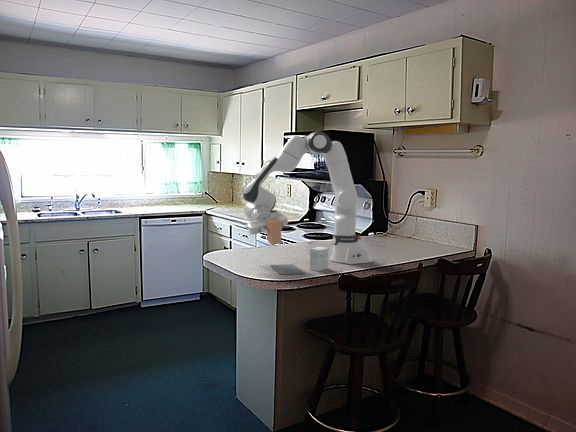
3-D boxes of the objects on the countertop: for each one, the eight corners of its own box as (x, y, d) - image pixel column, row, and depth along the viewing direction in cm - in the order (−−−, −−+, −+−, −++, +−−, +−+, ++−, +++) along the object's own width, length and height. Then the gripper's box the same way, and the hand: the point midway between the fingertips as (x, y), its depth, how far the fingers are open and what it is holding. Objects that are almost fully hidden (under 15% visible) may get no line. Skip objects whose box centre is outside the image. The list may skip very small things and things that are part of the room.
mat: (293, 265, 246) (293, 264, 246) (304, 273, 229) (304, 272, 229) (270, 266, 243) (270, 264, 243) (280, 275, 226) (280, 273, 226)
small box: (318, 266, 244) (319, 246, 243) (328, 268, 241) (328, 247, 240) (309, 269, 238) (310, 248, 237) (318, 271, 235) (319, 250, 233)
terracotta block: (276, 238, 240) (275, 216, 235) (281, 242, 236) (280, 220, 231) (267, 241, 238) (266, 219, 233) (272, 245, 234) (270, 223, 229)
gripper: (242, 219, 239) (254, 230, 228) (279, 209, 247) (292, 219, 236) (243, 230, 242) (255, 242, 231) (280, 220, 250) (293, 231, 239)
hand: (274, 230), depth 233 cm, fingers closed on terracotta block, 5 cm apart
